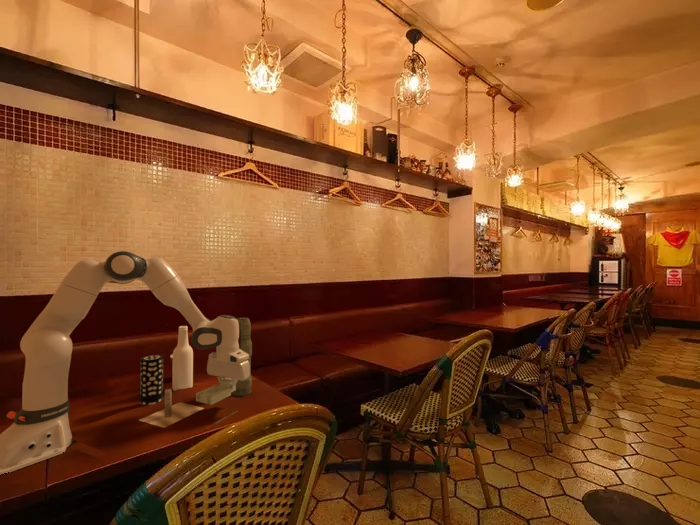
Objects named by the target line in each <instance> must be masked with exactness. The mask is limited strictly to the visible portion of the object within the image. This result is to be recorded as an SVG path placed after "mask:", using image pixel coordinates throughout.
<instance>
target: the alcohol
mask: <svg viewBox="0 0 700 525" xmlns="http://www.w3.org/2000/svg"><path fill="white" fill-rule="evenodd" d="M188 332H189V331H188V326H187V325H180V326H178V336H177V345H176V346H175V348H174V349H173V351H172V355H173V365H172V373H171V374H172V381H171V382H172V388H171V389H172V391H173V392H176V391H178V390H185V389H188V388H191V389H192V388H193V386H194V351H193V348H192V347H191V345H190V344H189V335H188V334H189V333H188Z"/></svg>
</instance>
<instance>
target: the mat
mask: <svg viewBox="0 0 700 525" xmlns="http://www.w3.org/2000/svg"><path fill="white" fill-rule="evenodd" d="M237 412H238V410H237V409H236V410H234V411H231V413H228V414H227V415H225V416H223V417H221V418H220V419H218V420H216V421H214V422H212V424H213V425H216V424H218V423H220V422H222V421H223V420H225V419H226V418H229V417H230V416H232V415H234V414H236V413H237Z"/></svg>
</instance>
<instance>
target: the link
mask: <svg viewBox="0 0 700 525" xmlns="http://www.w3.org/2000/svg"><path fill="white" fill-rule="evenodd" d="M232 383H233V381H232V379H230V378H225V377H224V378H223V379H222V380H220V383H219V384H214V385H212V386H210V387H207V388H205V389H202V390H201V391H198V392H195V401H196V402H197V403H203V404H207V405H214V404H216V403H218V402H220V401H222V400H225V399H226V398H228V397H230V396H232V392H233V391H235V390H236V388H235V389H231V388H230V385H231V384H232Z"/></svg>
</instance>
